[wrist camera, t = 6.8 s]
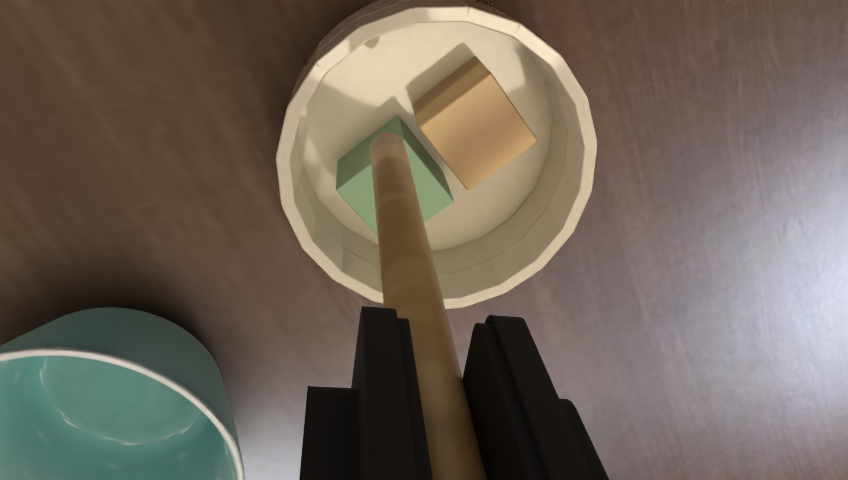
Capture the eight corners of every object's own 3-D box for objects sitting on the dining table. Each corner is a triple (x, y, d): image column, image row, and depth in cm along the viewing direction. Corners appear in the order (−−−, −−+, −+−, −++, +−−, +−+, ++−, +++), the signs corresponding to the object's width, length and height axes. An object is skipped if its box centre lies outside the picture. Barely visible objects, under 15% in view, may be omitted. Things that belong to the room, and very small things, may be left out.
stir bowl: (230, 112, 32) (206, 150, 27) (458, -76, 29) (482, -73, 24) (401, 296, 38) (409, 357, 33) (604, 155, 35) (649, 197, 30)
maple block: (410, 104, 32) (418, 127, 29) (475, 54, 31) (491, 72, 28) (455, 163, 34) (468, 192, 30) (518, 117, 33) (538, 141, 30)
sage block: (336, 160, 33) (335, 190, 30) (398, 114, 32) (403, 138, 29) (384, 215, 35) (388, 249, 31) (443, 172, 34) (454, 201, 30)
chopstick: (362, 146, 22) (399, 802, 5) (390, 124, 21) (515, 742, 5) (384, 172, 22) (477, 844, 6) (412, 151, 22) (587, 791, 6)
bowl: (184, 502, 44) (151, 619, 36) (-56, 404, 38) (-152, 519, 31) (313, 346, 39) (305, 445, 32) (62, 209, 34) (-19, 290, 26)
